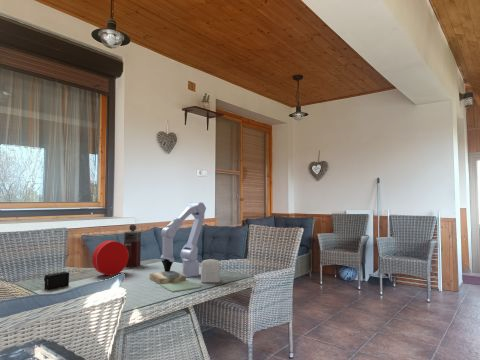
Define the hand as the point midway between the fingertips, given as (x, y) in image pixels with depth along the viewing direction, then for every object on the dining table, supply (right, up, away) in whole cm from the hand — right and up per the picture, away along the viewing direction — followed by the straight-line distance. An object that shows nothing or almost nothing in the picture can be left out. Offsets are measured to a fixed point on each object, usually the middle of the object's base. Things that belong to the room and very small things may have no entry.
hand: (167, 272), depth 193 cm
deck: (0, -4, -1) cm, 4 cm away
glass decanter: (-32, -6, +38) cm, 51 cm away
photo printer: (+25, -4, -4) cm, 25 cm away
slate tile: (+3, -1, -5) cm, 6 cm away
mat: (+10, -3, -14) cm, 18 cm away
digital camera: (-53, -3, -17) cm, 56 cm away
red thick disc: (-37, -5, +13) cm, 39 cm away
